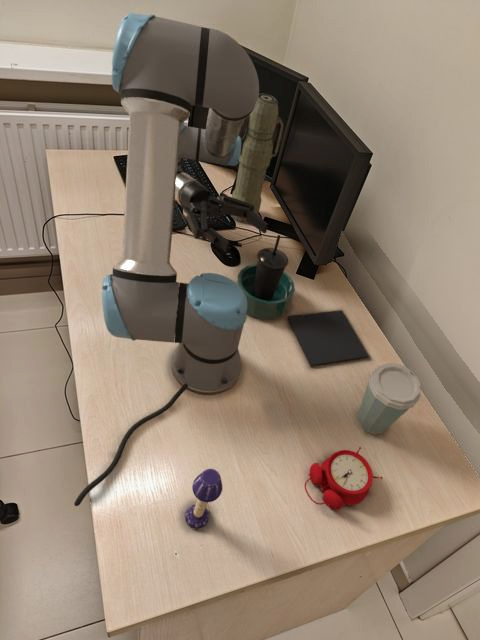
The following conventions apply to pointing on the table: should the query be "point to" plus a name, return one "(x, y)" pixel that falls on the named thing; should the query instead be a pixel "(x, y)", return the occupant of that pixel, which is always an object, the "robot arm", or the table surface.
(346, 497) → the alarm clock
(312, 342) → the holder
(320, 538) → the table surface
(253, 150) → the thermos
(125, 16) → the robot arm
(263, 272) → the drinking cup
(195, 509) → the toy lamp
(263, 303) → the green bowl
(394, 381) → the disposable coffee cup
